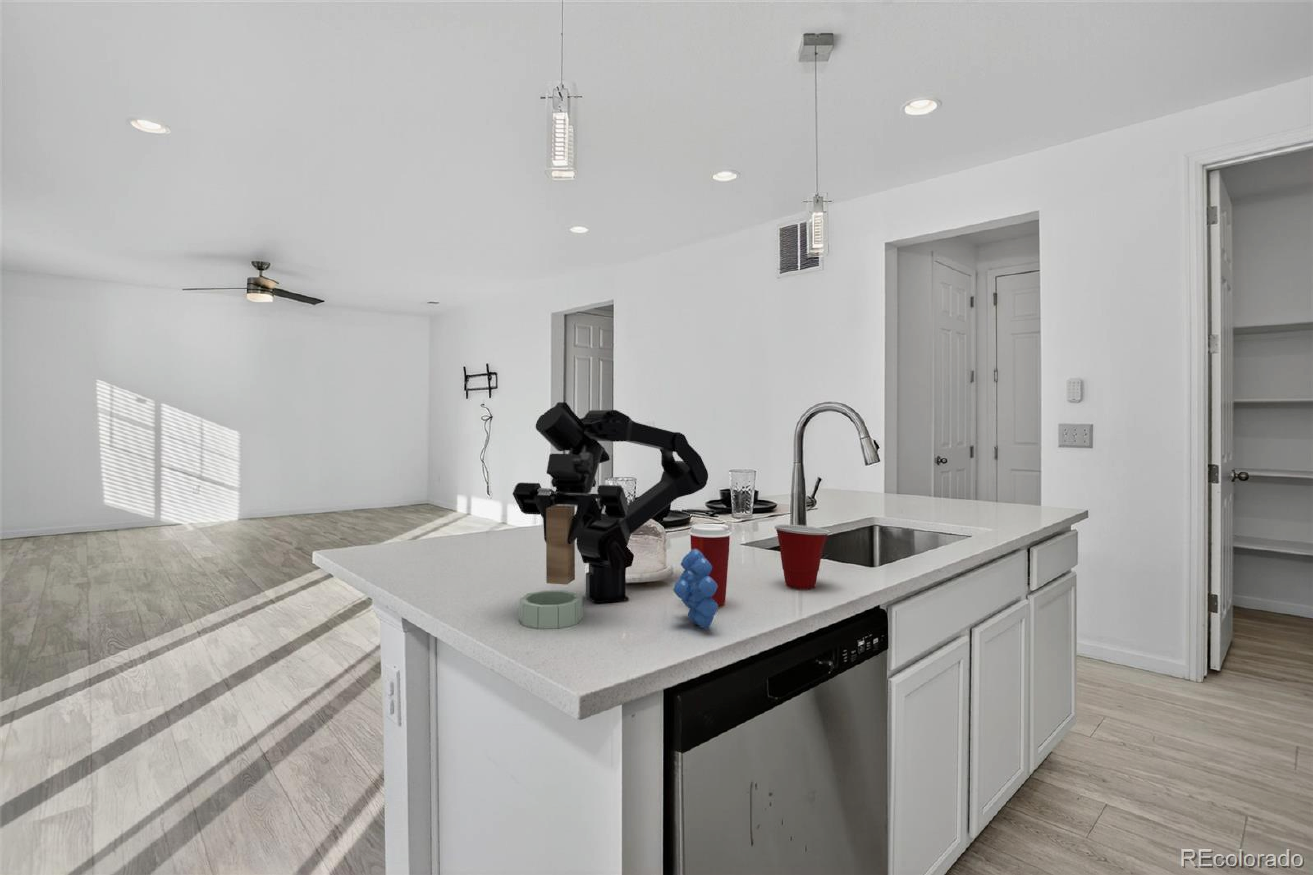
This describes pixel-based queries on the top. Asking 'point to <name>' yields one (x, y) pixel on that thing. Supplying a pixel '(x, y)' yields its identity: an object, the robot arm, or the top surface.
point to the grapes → (697, 588)
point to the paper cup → (714, 553)
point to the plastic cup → (800, 553)
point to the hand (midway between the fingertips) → (557, 541)
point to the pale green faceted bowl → (550, 609)
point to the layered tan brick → (559, 545)
